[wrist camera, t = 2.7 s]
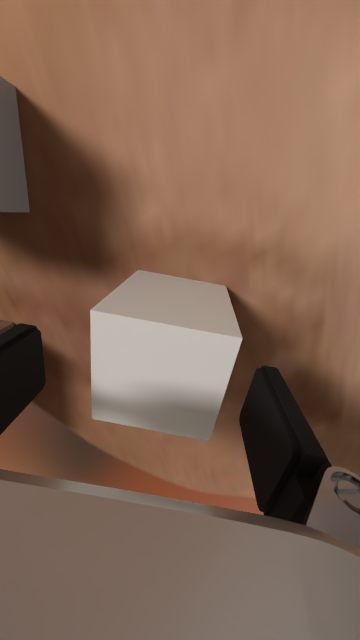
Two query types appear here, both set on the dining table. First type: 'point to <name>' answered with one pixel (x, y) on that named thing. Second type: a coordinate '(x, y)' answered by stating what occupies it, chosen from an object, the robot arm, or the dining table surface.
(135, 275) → the ceramic block
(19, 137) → the grey block
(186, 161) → the dining table surface
